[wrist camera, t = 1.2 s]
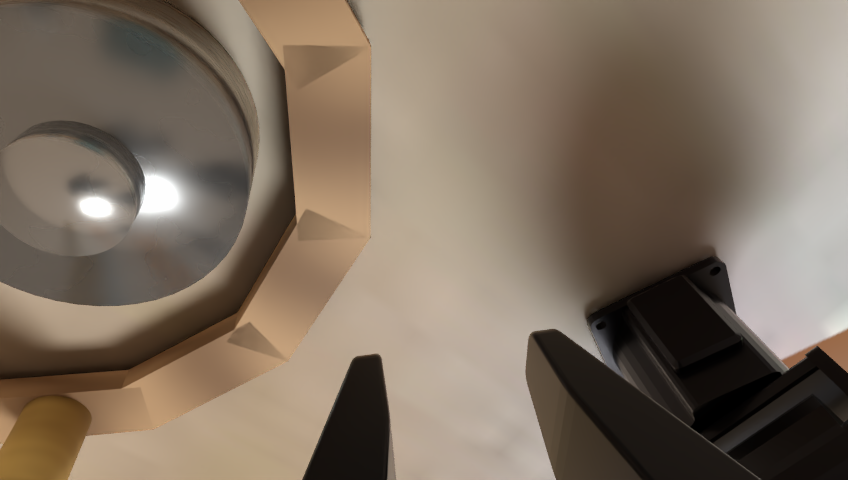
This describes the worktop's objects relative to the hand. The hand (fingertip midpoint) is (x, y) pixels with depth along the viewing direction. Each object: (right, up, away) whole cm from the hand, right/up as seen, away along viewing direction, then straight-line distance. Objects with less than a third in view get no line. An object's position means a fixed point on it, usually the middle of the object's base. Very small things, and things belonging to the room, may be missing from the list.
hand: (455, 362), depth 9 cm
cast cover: (-10, +6, +9) cm, 15 cm away
